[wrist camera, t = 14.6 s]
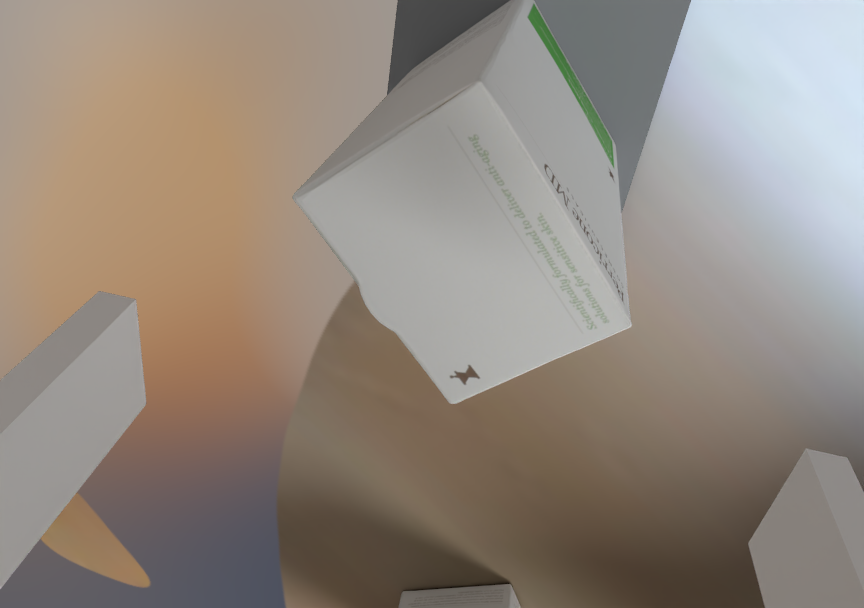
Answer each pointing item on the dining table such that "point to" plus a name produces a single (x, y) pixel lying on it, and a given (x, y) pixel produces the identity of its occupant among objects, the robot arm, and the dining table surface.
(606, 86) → the slate mat
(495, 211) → the skincare box
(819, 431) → the dining table surface
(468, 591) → the supplement box
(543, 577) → the dining table surface
